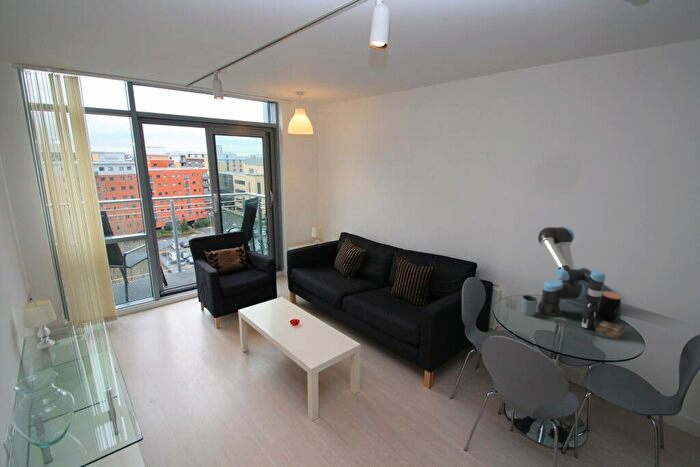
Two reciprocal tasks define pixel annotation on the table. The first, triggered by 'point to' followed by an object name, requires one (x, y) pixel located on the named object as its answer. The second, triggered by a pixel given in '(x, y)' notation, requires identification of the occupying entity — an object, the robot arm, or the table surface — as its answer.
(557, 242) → the robot arm
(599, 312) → the coffee jar
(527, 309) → the grey green cup
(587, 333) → the table surface
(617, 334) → the dock
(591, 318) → the supplement bottle
